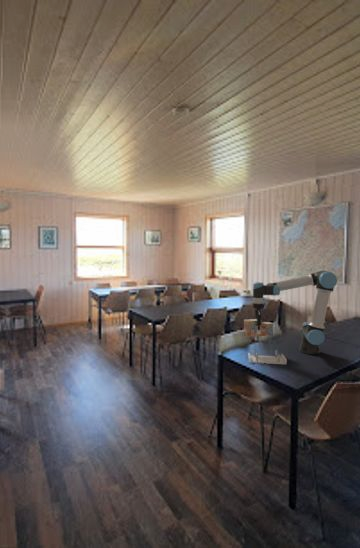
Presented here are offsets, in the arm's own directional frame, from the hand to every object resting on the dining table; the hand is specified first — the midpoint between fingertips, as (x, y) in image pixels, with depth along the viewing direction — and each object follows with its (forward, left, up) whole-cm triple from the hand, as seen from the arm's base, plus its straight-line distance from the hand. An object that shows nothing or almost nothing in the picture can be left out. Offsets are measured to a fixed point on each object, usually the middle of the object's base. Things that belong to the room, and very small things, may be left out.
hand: (257, 332), depth 245 cm
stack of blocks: (-1, 0, -2) cm, 2 cm away
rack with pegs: (-5, +15, -16) cm, 23 cm away
